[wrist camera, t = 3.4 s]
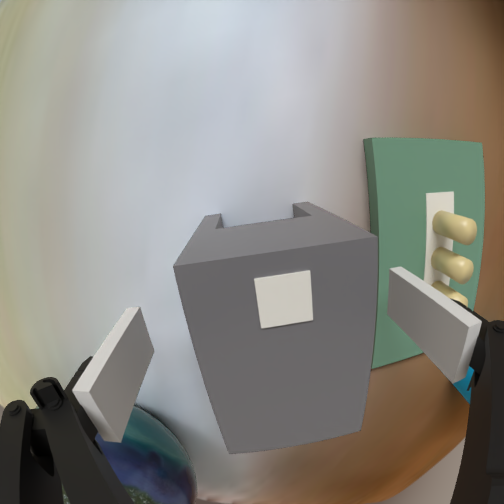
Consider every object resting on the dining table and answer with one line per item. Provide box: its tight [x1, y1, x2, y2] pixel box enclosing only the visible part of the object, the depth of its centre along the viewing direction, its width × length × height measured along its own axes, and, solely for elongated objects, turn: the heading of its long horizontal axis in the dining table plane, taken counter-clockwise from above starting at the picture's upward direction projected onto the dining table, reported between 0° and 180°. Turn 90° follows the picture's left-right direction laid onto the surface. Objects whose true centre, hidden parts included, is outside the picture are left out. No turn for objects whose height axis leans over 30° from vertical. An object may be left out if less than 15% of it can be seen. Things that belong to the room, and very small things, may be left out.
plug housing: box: [173, 202, 378, 454], centre depth 14 cm, size 9×6×9 cm, turn 8°
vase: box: [35, 406, 197, 504], centre depth 15 cm, size 15×15×13 cm
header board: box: [363, 138, 485, 369], centre depth 16 cm, size 16×10×4 cm, turn 8°
